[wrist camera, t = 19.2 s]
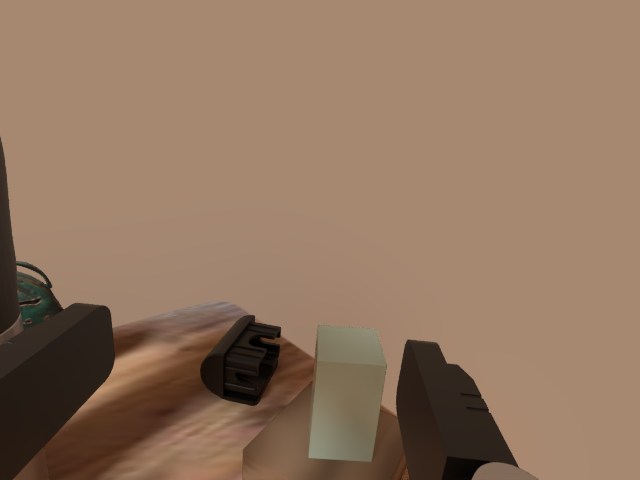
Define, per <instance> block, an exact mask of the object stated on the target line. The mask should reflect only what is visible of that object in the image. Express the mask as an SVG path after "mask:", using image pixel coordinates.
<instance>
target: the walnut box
mask: <svg viewBox="0 0 640 480" xmlns="http://www.w3.org/2000/svg"><path fill="white" fill-rule="evenodd" d="M312 384H313V381H312V382H311V383H310V384H309V385H308V386H307V387H306V388H305V389H304V390H303V391H302V392H301V393H300V394H299V395H298V396H297V397H296V398H295V399H294V400H293V401H291V402H290V403H289V404H288V405H287V406H286V407H285V408H284V409H283V410H282V411H281V412H280V413H279V414H278V415H277V416H276V417H275V418H274V419H273V420H272V421H271V422H270V423H269V424H268V425H267V426H266V427H265V428H264V429H263V430H262V431H261V432H260V433H259V434H258V435H257V436H256V437H255V438H254V439H253V440H252V441H251V442H250V443H249V444H248V445H247V446H246V447H245V448H244V449H243V471H242V480H400V479H401V477H402V475H403V473H404V470H405V468H406V466H407V463H406V458H405V453H404V448H403V443H402V437H401V432H400V427H399V422H398V418H397V417H395V416H392V415H390V414H388V413H386V412H384V411H382V410H380V412H379V418H378V425H377V431H376V437H375V444H374V450H373V456H372V462H364V461H348V460H333V459H317V458H308V457H309V428H310V406H311V395H312Z"/></svg>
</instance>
